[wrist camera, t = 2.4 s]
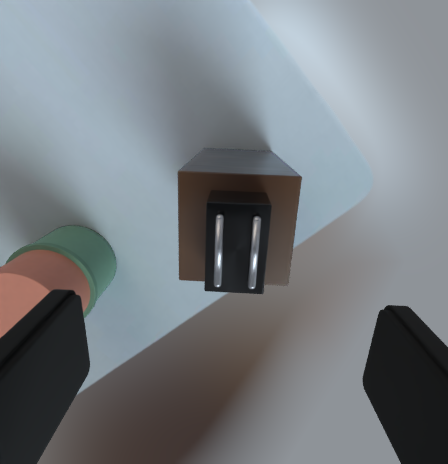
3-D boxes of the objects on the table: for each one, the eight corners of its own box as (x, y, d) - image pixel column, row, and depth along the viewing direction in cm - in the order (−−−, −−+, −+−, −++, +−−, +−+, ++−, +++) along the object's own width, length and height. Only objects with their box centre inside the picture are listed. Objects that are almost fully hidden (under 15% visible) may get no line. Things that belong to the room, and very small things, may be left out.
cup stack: (114, 225, 35) (63, 270, 24) (121, 296, 38) (77, 362, 27) (34, 221, 35) (-51, 264, 25) (47, 292, 38) (-24, 356, 28)
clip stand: (272, 151, 31) (302, 176, 17) (266, 216, 34) (288, 286, 20) (203, 148, 31) (177, 170, 17) (202, 213, 34) (178, 280, 20)
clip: (266, 192, 18) (273, 207, 14) (259, 270, 19) (264, 299, 16) (210, 189, 18) (205, 204, 14) (208, 268, 19) (203, 296, 16)
